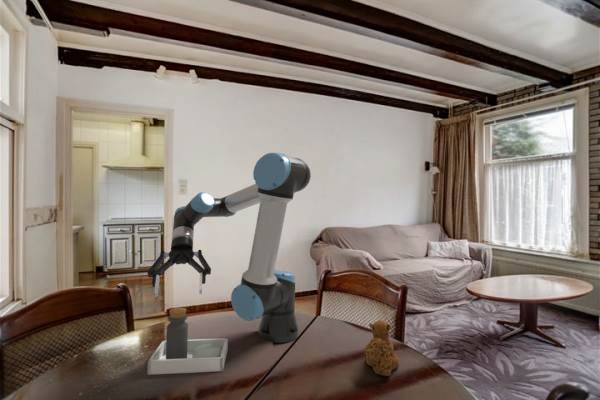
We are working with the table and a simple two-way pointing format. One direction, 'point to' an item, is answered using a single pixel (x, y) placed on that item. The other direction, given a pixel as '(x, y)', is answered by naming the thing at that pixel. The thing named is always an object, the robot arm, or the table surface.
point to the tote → (188, 359)
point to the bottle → (177, 334)
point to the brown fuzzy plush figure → (381, 350)
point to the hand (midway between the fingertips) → (178, 293)
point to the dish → (206, 351)
